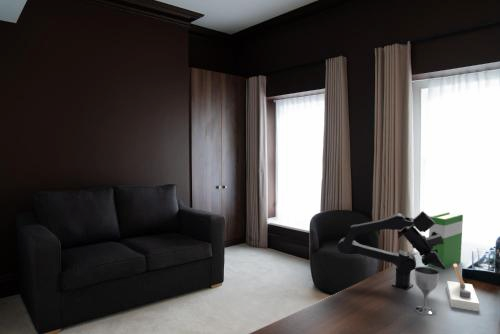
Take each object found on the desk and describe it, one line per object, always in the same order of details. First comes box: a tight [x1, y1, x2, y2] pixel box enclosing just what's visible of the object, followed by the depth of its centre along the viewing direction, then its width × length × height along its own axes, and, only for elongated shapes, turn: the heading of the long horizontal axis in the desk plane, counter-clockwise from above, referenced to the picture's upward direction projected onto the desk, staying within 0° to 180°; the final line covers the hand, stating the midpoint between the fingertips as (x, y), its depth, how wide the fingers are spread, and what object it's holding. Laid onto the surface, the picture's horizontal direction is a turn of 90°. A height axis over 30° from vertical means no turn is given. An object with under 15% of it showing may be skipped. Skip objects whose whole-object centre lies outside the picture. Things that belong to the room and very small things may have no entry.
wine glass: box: [414, 266, 440, 316], centre depth 135 cm, size 8×8×15 cm
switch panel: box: [446, 280, 480, 312], centre depth 146 cm, size 9×19×3 cm, turn 157°
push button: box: [460, 290, 471, 298], centre depth 141 cm, size 4×4×1 cm
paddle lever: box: [453, 263, 465, 289], centre depth 150 cm, size 2×4×9 cm, turn 155°
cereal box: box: [427, 212, 464, 269], centre depth 186 cm, size 18×7×24 cm, turn 126°
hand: (444, 268), depth 152 cm, fingers closed
